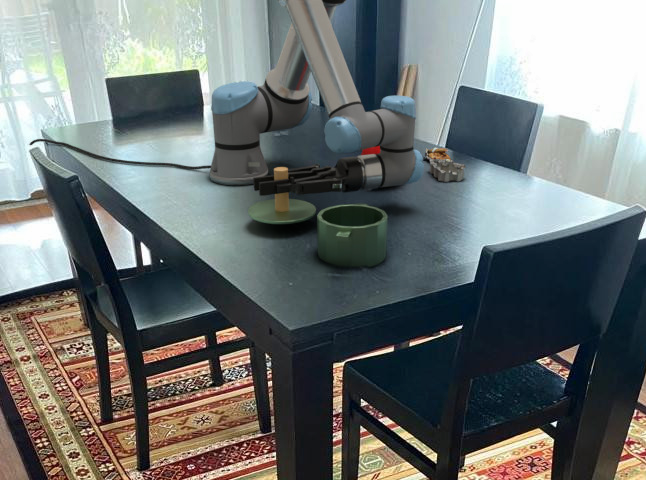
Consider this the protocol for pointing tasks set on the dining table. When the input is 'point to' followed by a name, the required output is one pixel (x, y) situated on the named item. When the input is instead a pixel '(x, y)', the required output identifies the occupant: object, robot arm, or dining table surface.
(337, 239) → the pot
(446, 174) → the egg carton
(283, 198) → the lid
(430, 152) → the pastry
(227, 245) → the dining table surface
